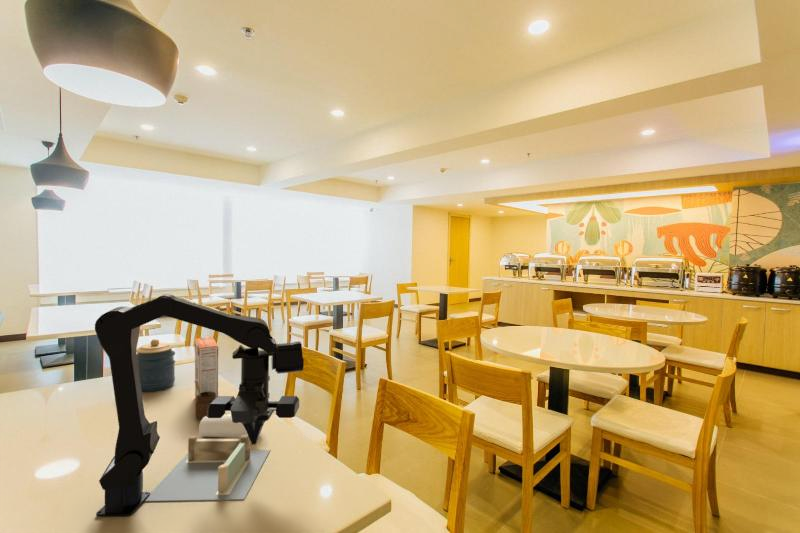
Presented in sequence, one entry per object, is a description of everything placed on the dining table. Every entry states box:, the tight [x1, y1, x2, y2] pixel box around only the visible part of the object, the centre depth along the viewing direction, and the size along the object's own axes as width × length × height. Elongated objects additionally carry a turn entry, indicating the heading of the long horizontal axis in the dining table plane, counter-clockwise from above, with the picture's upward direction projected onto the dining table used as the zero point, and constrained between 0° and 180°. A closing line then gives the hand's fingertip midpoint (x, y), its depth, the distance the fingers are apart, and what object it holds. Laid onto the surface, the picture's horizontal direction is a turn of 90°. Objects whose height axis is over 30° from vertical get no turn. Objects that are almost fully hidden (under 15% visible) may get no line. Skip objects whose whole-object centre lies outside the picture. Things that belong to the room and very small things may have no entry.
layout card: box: [143, 449, 271, 503], centre depth 85 cm, size 19×20×1 cm
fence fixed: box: [187, 434, 251, 461], centre depth 90 cm, size 15×2×6 cm, turn 94°
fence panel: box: [218, 443, 245, 493], centre depth 83 cm, size 12×2×5 cm, turn 3°
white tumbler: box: [198, 413, 247, 439], centre depth 102 cm, size 7×7×15 cm
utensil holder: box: [194, 380, 217, 421], centre depth 113 cm, size 6×6×12 cm
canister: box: [136, 338, 176, 393], centre depth 137 cm, size 13×13×18 cm
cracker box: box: [194, 336, 219, 402], centre depth 123 cm, size 14×6×21 cm, turn 33°
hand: (254, 443), depth 83 cm, fingers closed
